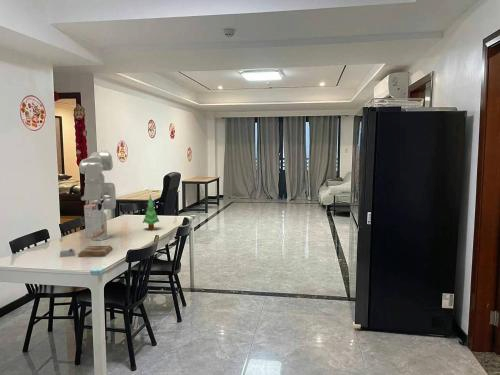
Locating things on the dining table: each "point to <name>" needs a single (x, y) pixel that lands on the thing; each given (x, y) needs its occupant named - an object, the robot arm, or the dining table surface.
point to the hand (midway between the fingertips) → (94, 209)
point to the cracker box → (94, 220)
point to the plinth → (95, 251)
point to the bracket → (67, 253)
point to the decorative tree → (150, 215)
